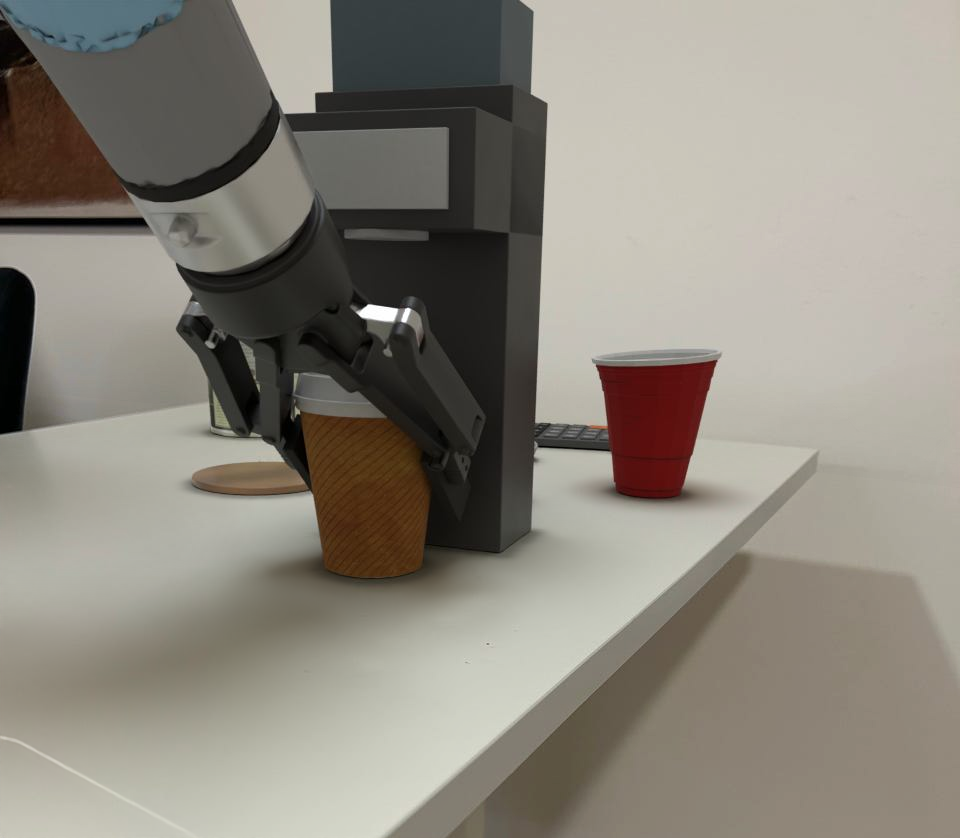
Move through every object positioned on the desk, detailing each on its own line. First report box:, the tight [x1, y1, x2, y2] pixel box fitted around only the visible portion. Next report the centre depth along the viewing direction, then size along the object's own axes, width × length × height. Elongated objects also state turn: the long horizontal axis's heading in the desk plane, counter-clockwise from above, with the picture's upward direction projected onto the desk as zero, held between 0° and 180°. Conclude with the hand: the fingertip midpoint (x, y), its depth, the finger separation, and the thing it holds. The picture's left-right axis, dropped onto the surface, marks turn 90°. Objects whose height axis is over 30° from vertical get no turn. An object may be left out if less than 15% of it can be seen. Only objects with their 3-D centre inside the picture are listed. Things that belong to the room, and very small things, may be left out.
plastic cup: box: [590, 348, 723, 499], centre depth 84 cm, size 11×11×12 cm
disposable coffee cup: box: [291, 366, 432, 579], centre depth 61 cm, size 10×10×12 cm
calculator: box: [535, 422, 610, 450], centre depth 112 cm, size 12×1×15 cm
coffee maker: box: [284, 0, 549, 553], centre depth 63 cm, size 13×13×33 cm
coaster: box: [191, 461, 310, 496], centre depth 87 cm, size 12×12×1 cm
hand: (395, 497), depth 65 cm, fingers closed on disposable coffee cup, 8 cm apart
